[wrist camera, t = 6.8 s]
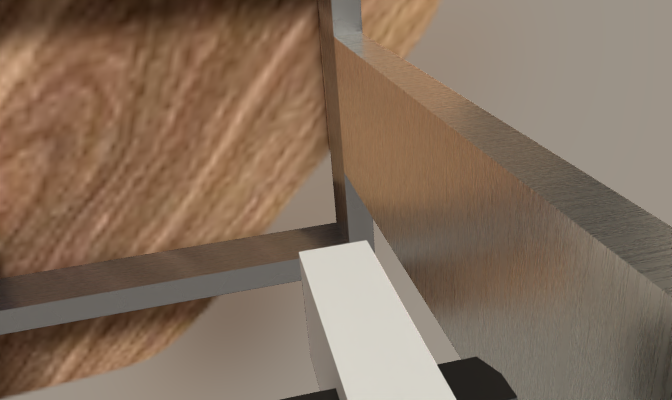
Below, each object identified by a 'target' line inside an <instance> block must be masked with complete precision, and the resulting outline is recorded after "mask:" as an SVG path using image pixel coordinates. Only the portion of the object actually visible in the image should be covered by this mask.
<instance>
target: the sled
mask: <svg viewBox="0 0 672 400" xmlns="http://www.w3.org/2000/svg"><path fill="white" fill-rule="evenodd" d="M318 8H319V20H320V25H319V29H320V41H321V53H322V64H323V76H324V88H325V100H326V112H327V123H328V135H329V147H330V150H331V162H332V174H333V186H334V198H335V208H336V221H337V223H331V224H325V225H319V226H313V227H307V228H302V229H295V230H289V231H283V232H277V233H271V234H265V235H259V236H253V237H247V238H241V239H235V240H229V241H223V242H217V243H211V244H205V245H199V246H193V247H187V248H181V249H175V250H169V251H163V252H157V253H151V254H145V255H139V256H133V257H127V258H121V259H116V260H110V261H104V262H98V263H92V264H86V265H80V266H74V267H68V268H62V269H56V270H50V271H44V272H38V273H32V274H26V275H20V276H14V277H8V278H2V279H0V335H2V334H7V333H13V332H18V331H24V330H29V329H35V328H40V327H46V326H51V325H57V324H63V323H68V322H74V321H79V320H85V319H90V318H96V317H101V316H107V315H112V314H118V313H123V312H129V311H134V310H140V309H145V308H151V307H157V306H162V305H168V304H173V303H179V302H184V301H190V300H195V299H201V298H206V297H212V296H217V295H223V294H228V293H234V292H239V291H245V290H250V289H256V288H261V287H267V286H272V285H278V284H284V283H289V282H295V281H300V280H302V278H301V269H300V260H299V252H301V251H307V250H312V249H318V248H324V247H330V246H336V245H342V244H347V243H353V242H359V241H365V240H367V241H368V243H369V245H370V247H371V249H372V250H373V252H374V254H375V251H374V234H373V233H374V232H373V219H374V221H375V222H376V224H377V226H378V227H379V229H380V230H381V232H382V234H383V235H384V237H385V238H386V240H387V242H388V243H389V245H390V246H391V248H392V250H393V251H394V253H395V254H396V256H397V257H398V259H399V261H400V262H401V264H402V265H403V267H404V269H405V270H406V272H407V273H408V275H409V277H410V278H411V280H412V281H413V283H414V285H415V286H416V288H417V289H418V291H419V293H420V294H421V296H422V297H423V299H424V300H425V302H426V304H427V305H428V307H429V309H430V310H431V312H432V313H433V315H434V317H435V318H436V320H437V321H438V323H439V325H440V326H441V328H442V329H443V331H444V333H445V334H446V336H447V337H448V339H449V341H450V342H451V343H452V345H453V347H454V348H455V350H456V352H457V353H458V355H459V357H460V358H461V360H462V359H467V358H471V357H476V356H477V357H478V358H480V359H481V360H482V361H484V362H485V363H487V364H488V365H490V366H491V367H493V368H494V369H495V370H497V371H498V372H500V373H501V374H502V375H503V377H504V378H505V380H506V381H507V382H508V384H509V385H510V387H511V388H512V390H513V391H514V392H515V394H516V395H517V399H518V400H672V227H671V226H670V225H668V224H666V223H665V222H663V221H661V220H660V219H658V218H657V217H655V216H654V215H652V214H650V213H649V212H647V211H646V210H644V209H642V208H641V207H639V206H638V205H636V204H634V203H633V202H631V201H630V200H628V199H626V198H625V197H623V196H622V195H620V194H618V193H617V192H615V191H614V190H612V189H610V188H609V187H607V186H606V185H604V184H602V183H601V182H599V181H598V180H596V179H594V178H593V177H591V176H589V175H588V174H586V173H585V172H583V171H582V170H580V169H578V168H577V167H575V166H574V165H572V164H570V163H569V162H567V161H566V160H564V159H562V158H561V157H559V156H558V155H556V154H554V153H553V152H551V151H549V150H548V149H546V148H545V147H543V146H542V145H540V144H538V143H537V142H535V141H534V140H532V139H530V138H529V137H527V136H526V135H524V134H522V133H521V132H519V131H518V130H516V129H514V128H513V127H511V126H510V125H508V124H506V123H505V122H503V121H502V120H500V119H498V118H497V117H495V116H494V115H492V114H490V113H489V112H487V111H486V110H484V109H482V108H480V107H479V106H478V105H476V104H474V103H473V102H471V101H470V100H468V99H466V98H465V97H463V96H462V95H460V94H458V93H457V92H455V91H454V90H452V89H450V88H449V87H447V86H446V85H444V84H442V83H441V82H439V81H438V80H436V79H434V78H433V77H431V76H430V75H428V74H426V73H425V72H423V71H421V70H420V69H418V68H417V67H415V66H414V65H412V64H410V63H409V62H407V61H406V60H404V59H402V58H401V57H399V56H398V55H396V54H394V53H393V52H391V51H390V50H388V49H386V48H385V47H383V46H382V45H380V44H378V43H377V42H375V41H374V40H372V39H370V38H369V37H367V36H366V35H364V34H362V19H361V1H360V0H318Z"/></svg>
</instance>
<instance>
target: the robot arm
mask: <svg viewBox="0 0 672 400" xmlns="http://www.w3.org/2000/svg"><path fill="white" fill-rule="evenodd" d="M299 260H300V269H301V278H302V286H303V295H304V303H305V312H306V321H307V329H308V338H309V346H310V355H311V360H312V363H313V367H314V370H315V374H316V378H317V381H318V385H319V388H320V391H319V392H314V393H310V394H306V395H301V396H296V397H291V398H286V399H281V400H518V399H517V395H516V394H515V392H514V391H513V390H512V388H511V387H510V385H509V384H508V382H507V381H506V380H505V378H504V377H503V375H502V374H501V373H500V372H498V371H497V370H495V369H494V368H493V367H491V366H490V365H488V364H487V363H485V362H484V361H482V360H481V359H480V358H478V357H477V356H476V357H471V358H467V359H462V360H457V361H452V362H448V363H443V364H438V365H437V364H436V362H435V361H434V359H433V357H432V355H431V354H430V352H429V350H428V348H427V347H426V345H425V343H424V341H423V339H422V338H421V336H420V334H419V332H418V330H417V329H416V327H415V325H414V323H413V321H412V320H411V318H410V316H409V314H408V313H407V311H406V309H405V307H404V305H403V304H402V302H401V300H400V299H399V297H398V295H397V293H396V291H395V289H394V288H393V286H392V284H391V283H390V281H389V279H388V277H387V275H386V273H385V272H384V270H383V268H382V266H381V265H380V263H379V261H378V259H377V257H376V256H375V254H374V252H373V250H372V249H371V247H370V245H369V243H368V241H367V240H365V241H359V242H353V243H347V244H342V245H336V246H330V247H324V248H318V249H312V250H307V251H301V252H299Z"/></svg>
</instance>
